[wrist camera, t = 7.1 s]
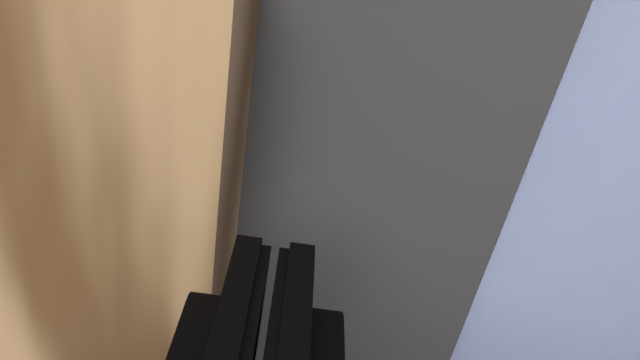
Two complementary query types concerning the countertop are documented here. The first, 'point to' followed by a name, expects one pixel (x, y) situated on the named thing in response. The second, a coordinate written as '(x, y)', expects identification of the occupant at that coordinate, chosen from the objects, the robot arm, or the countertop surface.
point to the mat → (396, 152)
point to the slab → (117, 169)
